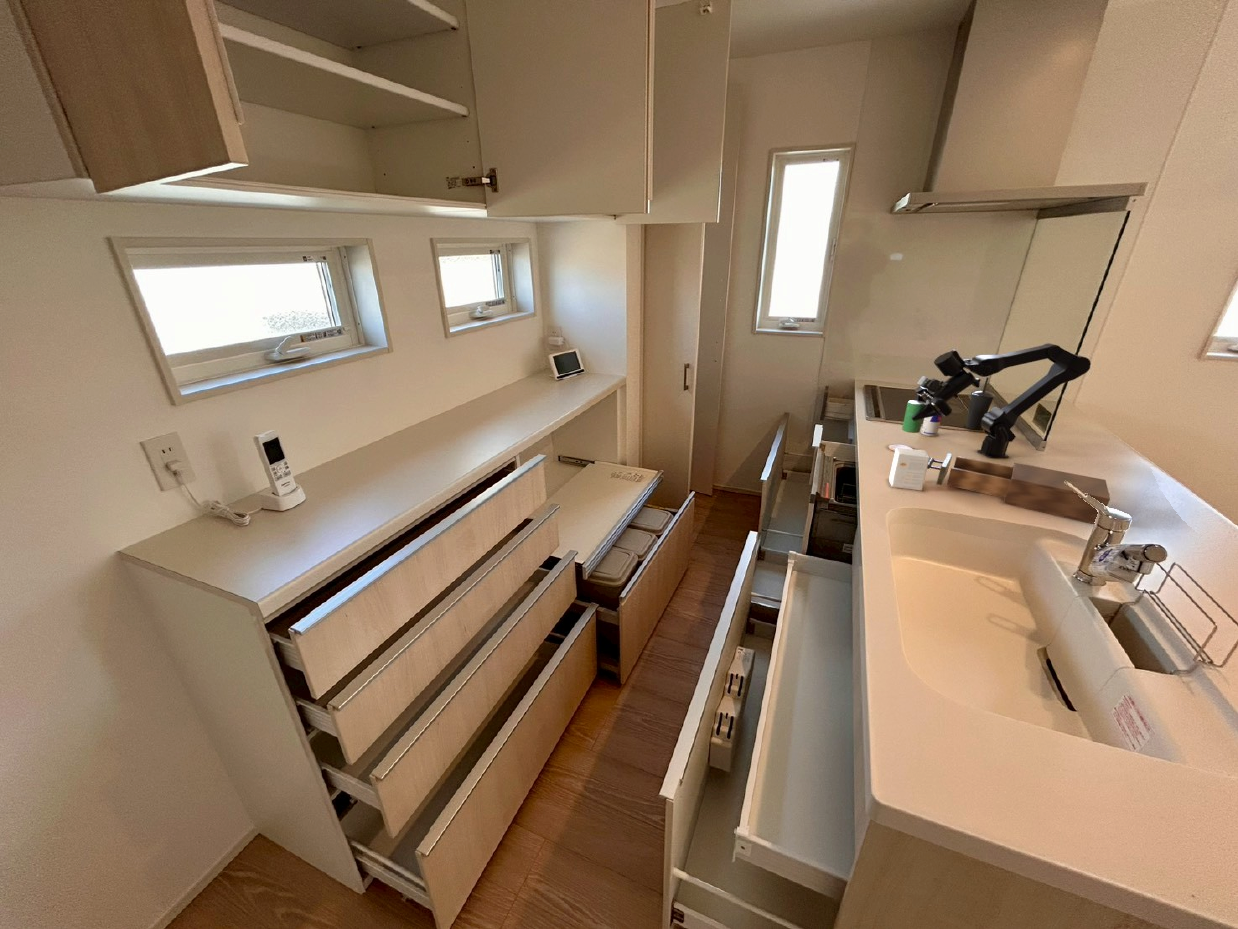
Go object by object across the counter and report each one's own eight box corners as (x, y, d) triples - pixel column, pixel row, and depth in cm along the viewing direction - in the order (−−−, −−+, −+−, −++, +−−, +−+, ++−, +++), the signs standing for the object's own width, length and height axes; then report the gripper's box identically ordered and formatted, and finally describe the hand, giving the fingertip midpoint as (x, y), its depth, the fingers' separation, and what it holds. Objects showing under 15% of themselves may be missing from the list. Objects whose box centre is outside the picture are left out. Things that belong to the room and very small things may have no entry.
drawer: (920, 480, 147) (924, 462, 145) (928, 467, 156) (932, 450, 154) (1014, 502, 134) (1021, 482, 132) (1017, 485, 143) (1023, 467, 141)
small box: (918, 483, 147) (926, 450, 143) (922, 491, 142) (930, 457, 138) (888, 479, 149) (895, 447, 145) (891, 487, 145) (898, 453, 141)
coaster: (904, 445, 177) (904, 444, 177) (917, 452, 170) (917, 451, 170) (883, 445, 177) (884, 444, 176) (896, 453, 170) (896, 452, 169)
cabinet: (1003, 503, 135) (1011, 478, 132) (1007, 485, 145) (1014, 462, 142) (1099, 525, 124) (1110, 498, 121) (1095, 504, 134) (1105, 479, 131)
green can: (923, 431, 169) (929, 402, 166) (914, 434, 167) (920, 405, 163) (907, 427, 174) (913, 399, 170) (898, 429, 171) (904, 401, 167)
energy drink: (939, 436, 185) (947, 405, 181) (923, 435, 186) (931, 404, 182) (933, 432, 190) (941, 401, 185) (918, 431, 191) (926, 401, 186)
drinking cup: (977, 432, 190) (992, 380, 182) (957, 426, 196) (971, 376, 189) (989, 429, 193) (1004, 378, 186) (968, 423, 200) (982, 374, 192)
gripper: (927, 363, 170) (886, 393, 176) (950, 374, 153) (903, 407, 159) (947, 386, 171) (905, 415, 178) (971, 400, 155) (925, 432, 161)
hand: (909, 417), depth 169 cm, fingers closed on green can, 5 cm apart
